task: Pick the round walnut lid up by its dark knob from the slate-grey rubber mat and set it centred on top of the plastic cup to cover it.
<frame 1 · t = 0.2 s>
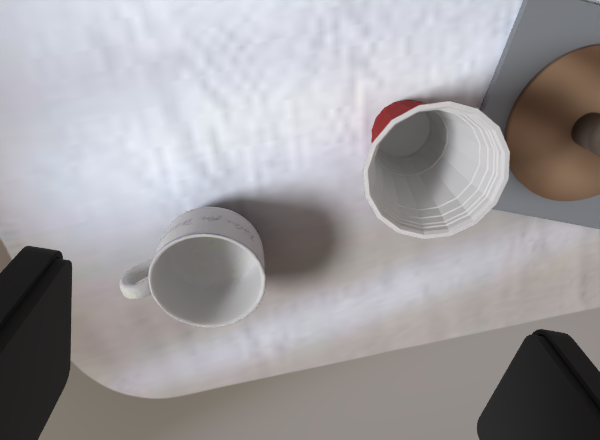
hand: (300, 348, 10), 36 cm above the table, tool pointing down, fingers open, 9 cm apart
teacup: (201, 240, 50), on the table
mat: (577, 123, 46), on the table
lid: (582, 126, 45), point 1 cm above the table, touching mat
plastic cup: (399, 128, 46), on the table
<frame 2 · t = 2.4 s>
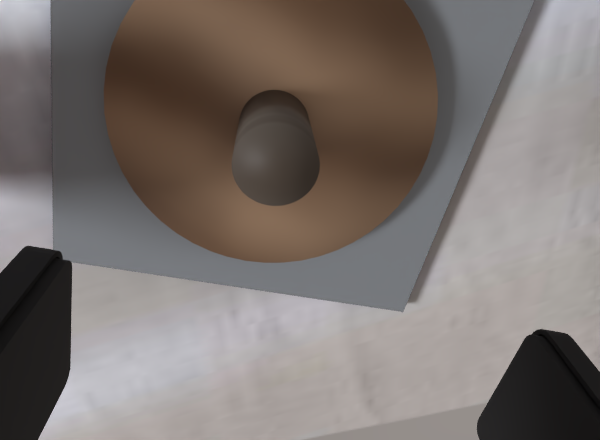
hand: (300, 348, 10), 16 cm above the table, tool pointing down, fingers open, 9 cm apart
mat: (274, 114, 23), on the table
lid: (274, 118, 22), point 1 cm above the table, touching mat
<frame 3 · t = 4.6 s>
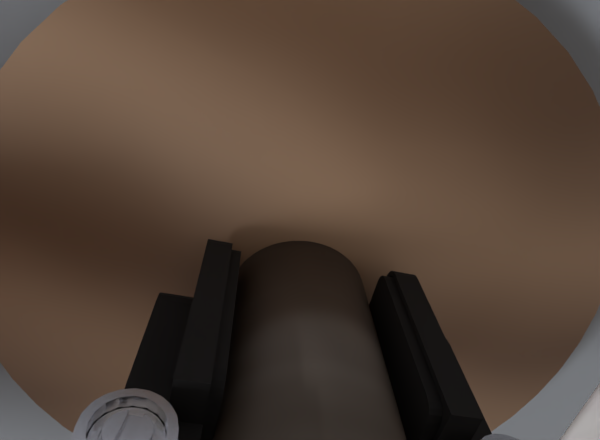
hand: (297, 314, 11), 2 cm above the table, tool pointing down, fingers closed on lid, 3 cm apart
mat: (293, 257, 13), on the table
lid: (295, 275, 12), point 1 cm above the table, touching gripper, mat
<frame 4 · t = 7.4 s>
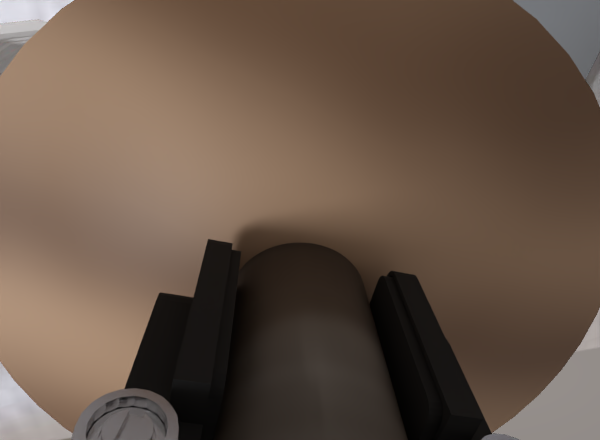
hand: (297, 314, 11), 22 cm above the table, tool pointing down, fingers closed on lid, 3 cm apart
mat: (407, 104, 31), on the table
lid: (296, 276, 12), point 20 cm above the table, touching gripper
plastic cup: (133, 98, 30), on the table
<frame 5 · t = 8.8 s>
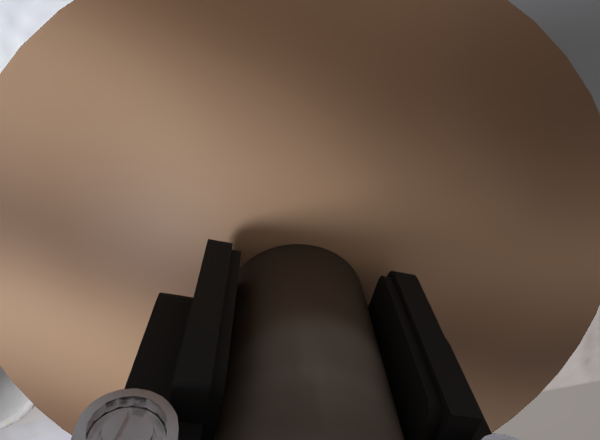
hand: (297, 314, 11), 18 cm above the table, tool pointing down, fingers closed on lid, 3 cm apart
mat: (585, 97, 27), on the table
lid: (294, 278, 12), point 17 cm above the table, touching gripper
when the fingers open (15 cm above the table, at t = 10.0 s): lid drops 2 cm, resting on plastic cup.
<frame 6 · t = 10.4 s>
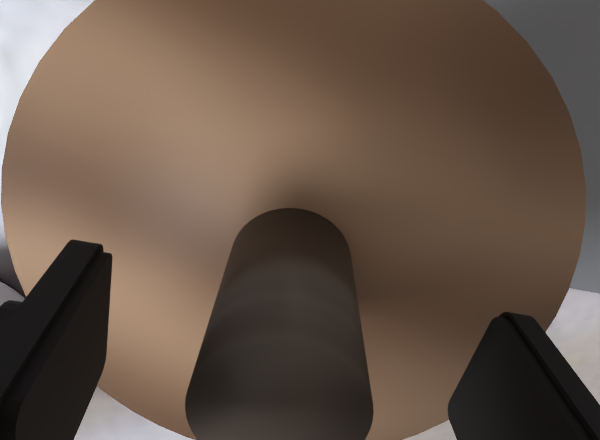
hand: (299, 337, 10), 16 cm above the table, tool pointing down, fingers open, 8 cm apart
lid: (292, 244, 13), point 12 cm above the table, touching plastic cup
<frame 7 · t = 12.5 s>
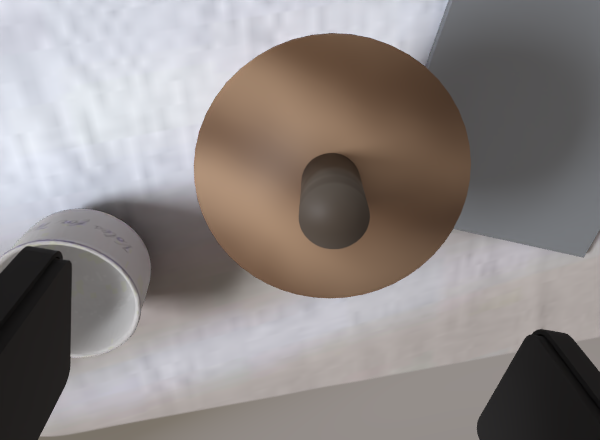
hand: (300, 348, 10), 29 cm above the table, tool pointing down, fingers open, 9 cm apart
teacup: (82, 250, 42), on the table
mat: (530, 124, 38), on the table
lid: (330, 175, 27), point 12 cm above the table, touching plastic cup
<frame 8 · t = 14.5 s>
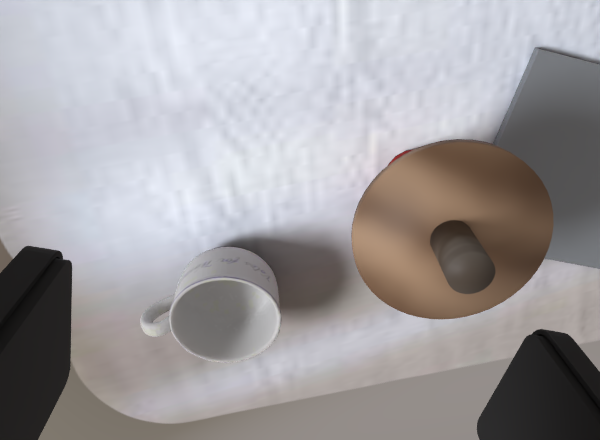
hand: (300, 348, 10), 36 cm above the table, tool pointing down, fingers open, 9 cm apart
teacup: (217, 276, 52), on the table
mat: (579, 171, 48), on the table
lid: (447, 233, 37), point 12 cm above the table, touching plastic cup
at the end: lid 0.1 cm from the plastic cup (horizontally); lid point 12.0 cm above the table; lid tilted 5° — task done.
